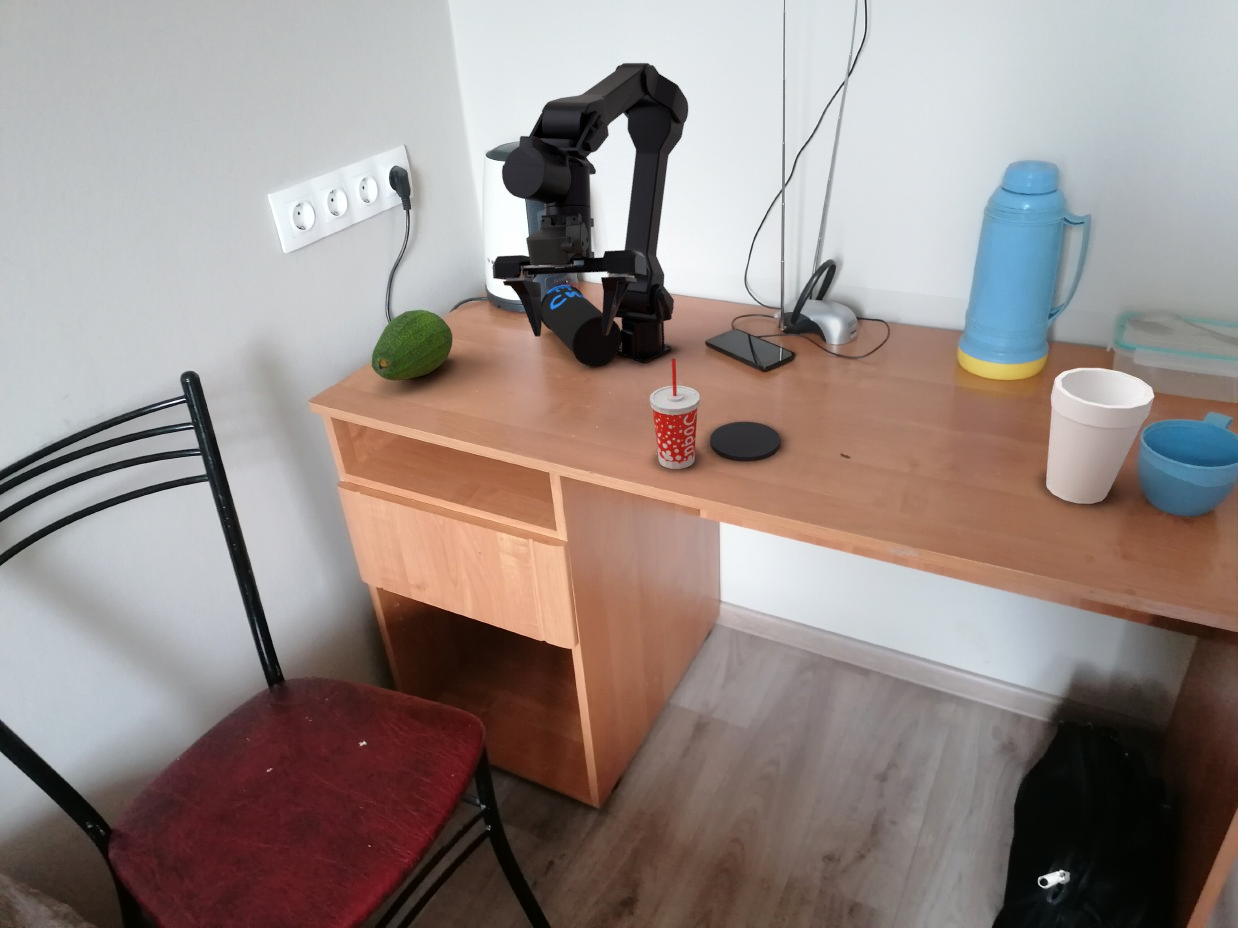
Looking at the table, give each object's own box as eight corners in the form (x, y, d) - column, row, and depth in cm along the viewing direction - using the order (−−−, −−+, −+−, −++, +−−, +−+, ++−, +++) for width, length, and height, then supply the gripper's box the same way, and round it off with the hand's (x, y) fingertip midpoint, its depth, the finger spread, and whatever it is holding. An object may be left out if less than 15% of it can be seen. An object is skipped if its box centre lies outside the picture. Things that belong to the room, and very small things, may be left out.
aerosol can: (572, 370, 131) (532, 326, 147) (621, 363, 134) (576, 320, 150) (572, 319, 127) (530, 279, 143) (622, 313, 130) (576, 274, 145)
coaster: (740, 418, 116) (740, 414, 116) (794, 440, 110) (794, 436, 110) (695, 444, 111) (695, 440, 111) (750, 469, 105) (750, 464, 105)
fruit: (408, 402, 126) (394, 340, 121) (359, 390, 131) (343, 330, 125) (471, 361, 137) (461, 302, 132) (423, 351, 141) (412, 294, 136)
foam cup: (1016, 470, 101) (1038, 371, 94) (1092, 462, 102) (1119, 364, 95) (1058, 516, 93) (1085, 412, 86) (1140, 507, 94) (1173, 403, 87)
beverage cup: (668, 477, 105) (664, 375, 97) (644, 455, 109) (638, 356, 102) (710, 463, 107) (709, 362, 99) (684, 442, 112) (682, 344, 104)
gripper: (469, 205, 101) (475, 338, 103) (620, 194, 95) (622, 335, 98) (509, 216, 111) (513, 336, 114) (646, 207, 106) (648, 334, 108)
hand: (571, 336), depth 108 cm, fingers open, 9 cm apart
